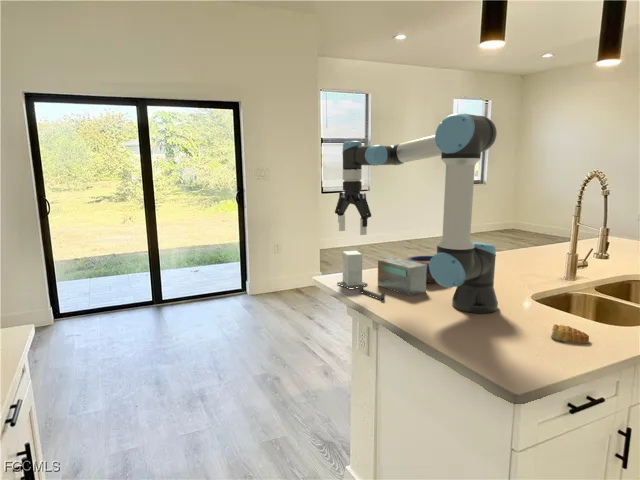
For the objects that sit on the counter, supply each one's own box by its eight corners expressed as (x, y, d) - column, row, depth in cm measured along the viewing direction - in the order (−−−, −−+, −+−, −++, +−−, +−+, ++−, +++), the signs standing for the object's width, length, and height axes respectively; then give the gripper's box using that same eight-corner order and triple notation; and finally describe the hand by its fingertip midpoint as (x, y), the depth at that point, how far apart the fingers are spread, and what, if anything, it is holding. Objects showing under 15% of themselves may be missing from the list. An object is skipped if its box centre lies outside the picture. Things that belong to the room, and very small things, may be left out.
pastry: (588, 338, 122) (589, 326, 121) (589, 347, 116) (590, 334, 115) (551, 332, 126) (552, 320, 126) (550, 341, 121) (551, 328, 120)
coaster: (367, 285, 176) (367, 283, 176) (350, 289, 171) (350, 287, 171) (353, 281, 184) (353, 278, 183) (337, 284, 178) (337, 282, 178)
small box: (362, 285, 174) (362, 254, 172) (347, 286, 173) (347, 255, 170) (356, 279, 182) (356, 250, 179) (342, 280, 180) (342, 251, 178)
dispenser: (425, 291, 167) (426, 264, 165) (387, 302, 155) (387, 273, 153) (393, 281, 181) (393, 256, 180) (355, 291, 169) (355, 264, 167)
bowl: (425, 272, 197) (425, 251, 195) (456, 280, 182) (457, 258, 180) (396, 278, 187) (396, 256, 186) (426, 287, 172) (427, 264, 171)
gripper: (380, 180, 162) (380, 235, 165) (340, 179, 182) (340, 228, 185) (365, 181, 157) (365, 237, 161) (326, 180, 178) (326, 230, 181)
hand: (352, 232), depth 173 cm, fingers open, 13 cm apart
